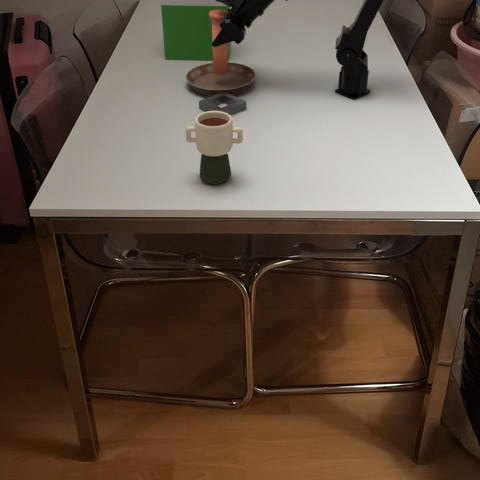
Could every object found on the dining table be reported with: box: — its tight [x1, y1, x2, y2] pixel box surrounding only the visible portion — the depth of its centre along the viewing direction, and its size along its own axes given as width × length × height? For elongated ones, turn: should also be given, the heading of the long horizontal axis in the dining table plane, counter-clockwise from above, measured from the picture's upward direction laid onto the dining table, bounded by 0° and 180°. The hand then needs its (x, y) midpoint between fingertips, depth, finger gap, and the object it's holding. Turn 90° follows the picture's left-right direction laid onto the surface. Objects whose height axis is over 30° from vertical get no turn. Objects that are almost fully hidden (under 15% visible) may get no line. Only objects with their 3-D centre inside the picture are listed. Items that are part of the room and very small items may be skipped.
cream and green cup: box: [185, 111, 244, 185], centre depth 125 cm, size 11×7×13 cm, turn 86°
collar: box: [198, 92, 247, 116], centre depth 154 cm, size 8×8×2 cm
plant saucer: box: [185, 61, 256, 97], centre depth 165 cm, size 18×18×3 cm
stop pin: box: [209, 10, 229, 75], centre depth 159 cm, size 5×5×15 cm
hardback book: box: [160, 0, 232, 62], centre depth 175 cm, size 18×7×24 cm, turn 85°
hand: (214, 42), depth 159 cm, fingers closed on stop pin, 3 cm apart
